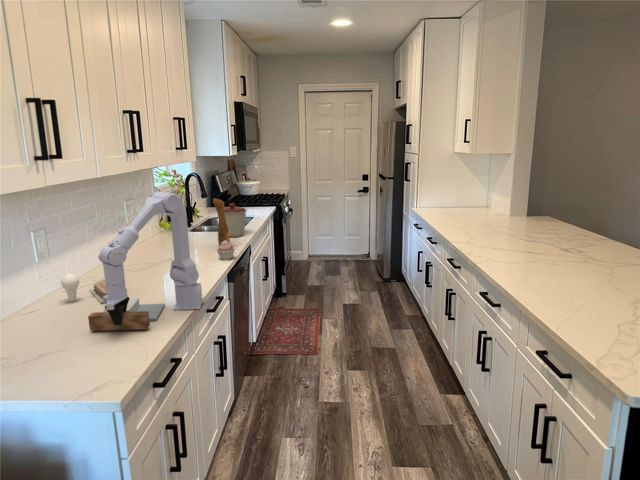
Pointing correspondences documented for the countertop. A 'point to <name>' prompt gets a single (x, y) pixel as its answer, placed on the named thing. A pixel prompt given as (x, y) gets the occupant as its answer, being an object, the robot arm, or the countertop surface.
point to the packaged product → (100, 291)
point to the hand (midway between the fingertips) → (119, 322)
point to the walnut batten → (128, 321)
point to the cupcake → (225, 251)
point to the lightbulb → (70, 285)
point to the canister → (235, 220)
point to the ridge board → (145, 308)
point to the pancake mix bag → (221, 221)
